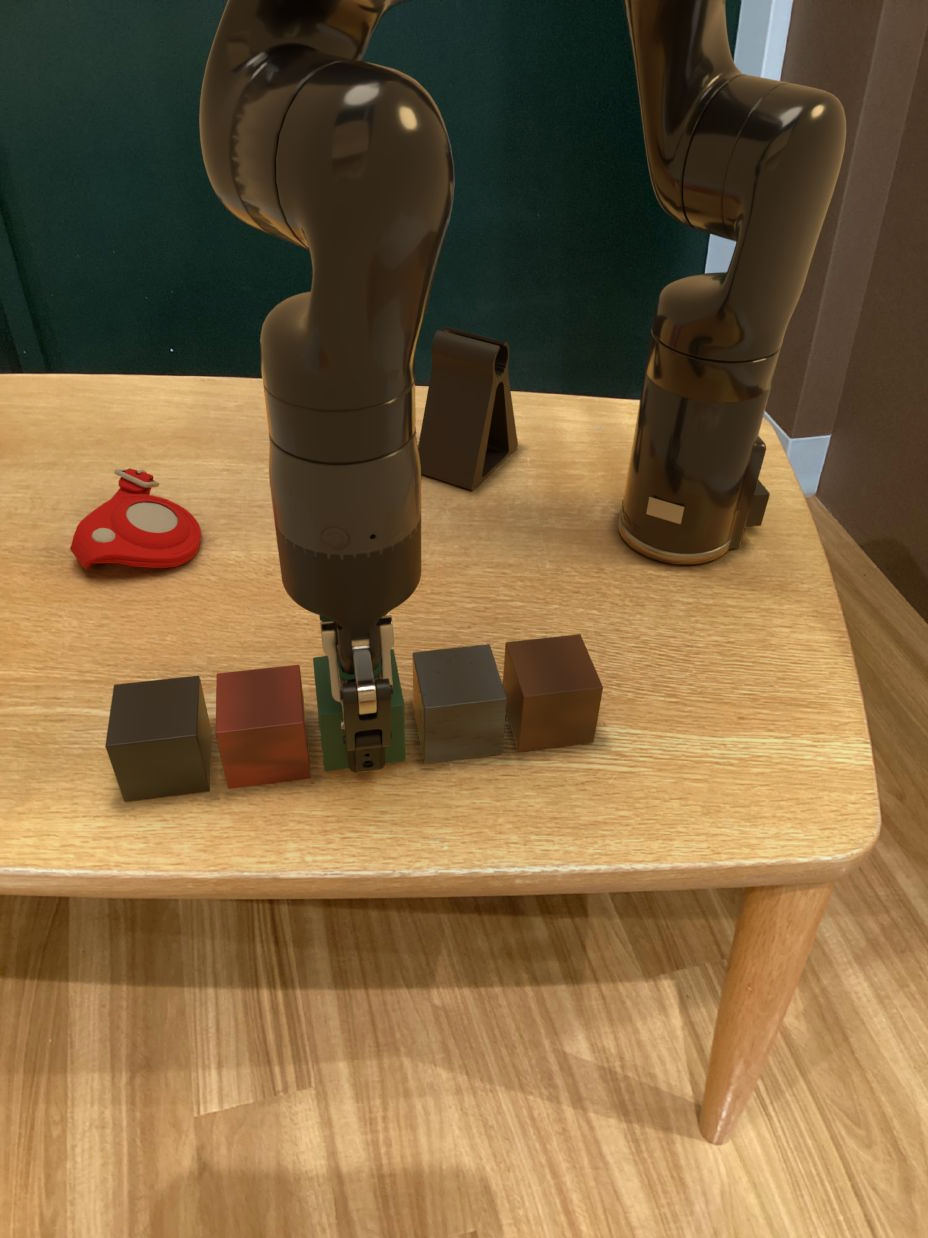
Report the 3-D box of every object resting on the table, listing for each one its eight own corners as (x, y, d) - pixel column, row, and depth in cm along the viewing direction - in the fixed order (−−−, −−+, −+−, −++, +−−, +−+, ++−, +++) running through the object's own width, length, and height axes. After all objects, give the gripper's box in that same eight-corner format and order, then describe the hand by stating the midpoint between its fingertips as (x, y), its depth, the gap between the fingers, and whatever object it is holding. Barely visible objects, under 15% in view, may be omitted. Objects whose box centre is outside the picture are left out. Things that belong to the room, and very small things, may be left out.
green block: (395, 704, 61) (393, 648, 57) (405, 762, 57) (404, 705, 54) (318, 713, 60) (312, 656, 57) (324, 772, 56) (318, 715, 53)
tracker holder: (228, 536, 73) (111, 563, 66) (218, 577, 76) (103, 607, 69) (149, 447, 78) (31, 464, 71) (141, 489, 81) (27, 509, 74)
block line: (572, 688, 63) (580, 633, 60) (594, 743, 59) (603, 687, 56) (131, 740, 58) (113, 684, 55) (124, 803, 55) (104, 746, 51)
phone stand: (471, 492, 81) (475, 364, 73) (413, 472, 83) (412, 346, 76) (518, 448, 87) (526, 325, 79) (463, 431, 89) (466, 310, 82)
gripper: (443, 585, 42) (439, 816, 53) (401, 432, 53) (405, 651, 64) (278, 601, 41) (309, 834, 52) (269, 441, 52) (296, 662, 63)
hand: (362, 732), depth 58 cm, fingers closed on green block, 5 cm apart
